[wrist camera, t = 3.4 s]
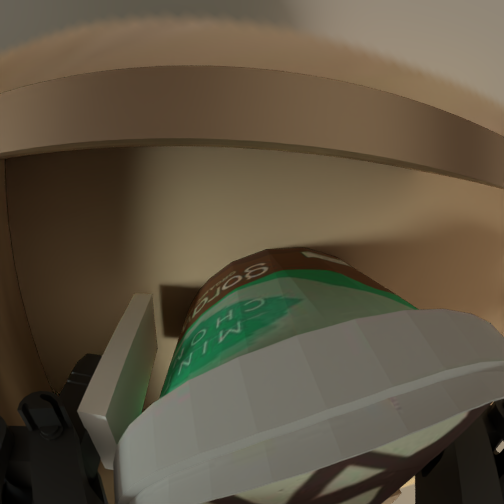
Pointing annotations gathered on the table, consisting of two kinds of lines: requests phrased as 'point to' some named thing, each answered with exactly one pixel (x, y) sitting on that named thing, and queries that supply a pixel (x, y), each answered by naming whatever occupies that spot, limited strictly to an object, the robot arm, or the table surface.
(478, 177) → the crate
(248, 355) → the food container
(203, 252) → the table surface
